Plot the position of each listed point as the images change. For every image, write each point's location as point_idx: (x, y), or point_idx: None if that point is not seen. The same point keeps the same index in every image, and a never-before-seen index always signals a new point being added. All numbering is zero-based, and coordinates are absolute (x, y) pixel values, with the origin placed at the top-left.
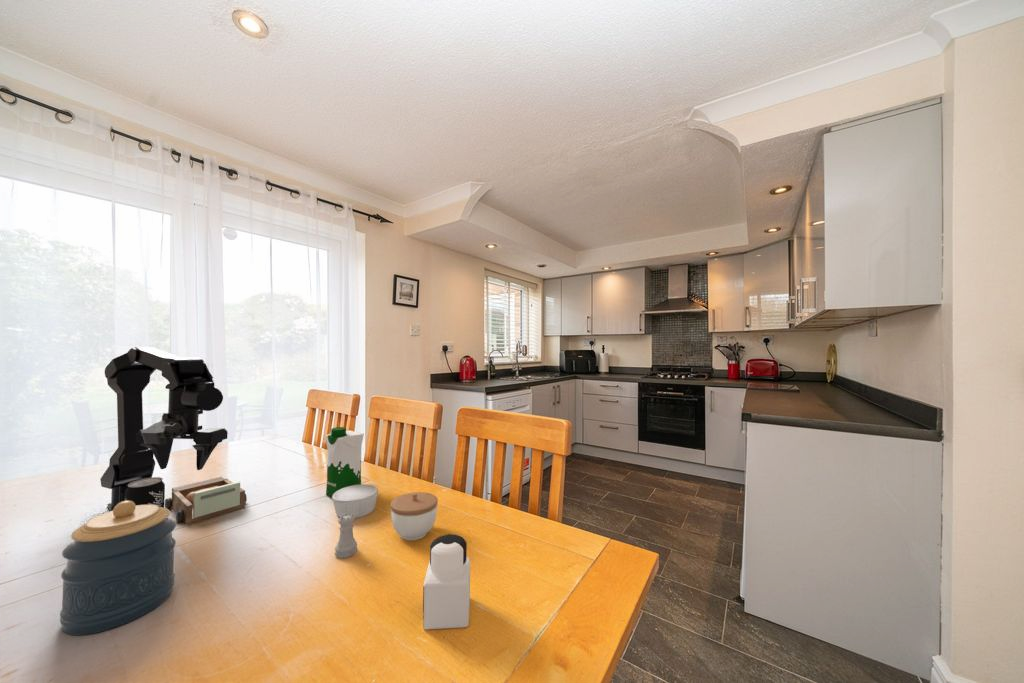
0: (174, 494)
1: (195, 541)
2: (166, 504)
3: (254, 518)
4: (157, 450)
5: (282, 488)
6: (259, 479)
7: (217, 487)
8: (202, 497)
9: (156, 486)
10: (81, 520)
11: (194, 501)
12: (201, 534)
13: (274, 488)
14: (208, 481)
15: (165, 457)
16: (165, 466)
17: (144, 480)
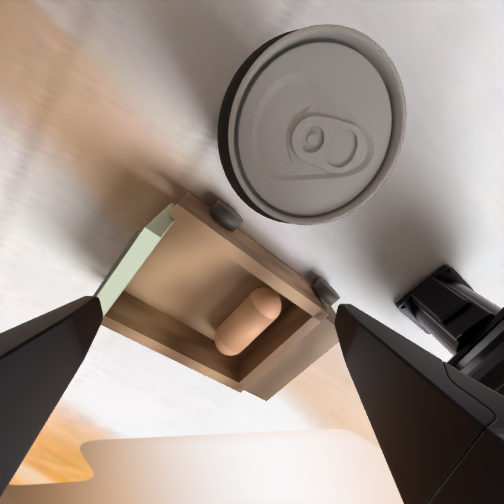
0: (308, 297)
1: (47, 67)
2: (324, 284)
3: (15, 223)
4: (482, 427)
5: (120, 383)
6: (223, 418)
7: (112, 287)
8: (136, 234)
9: (226, 121)
10: (487, 223)
11: (157, 218)
12: (78, 120)
13: (141, 382)
14: (276, 374)
15: (372, 382)
16: (339, 327)
17: (354, 187)
